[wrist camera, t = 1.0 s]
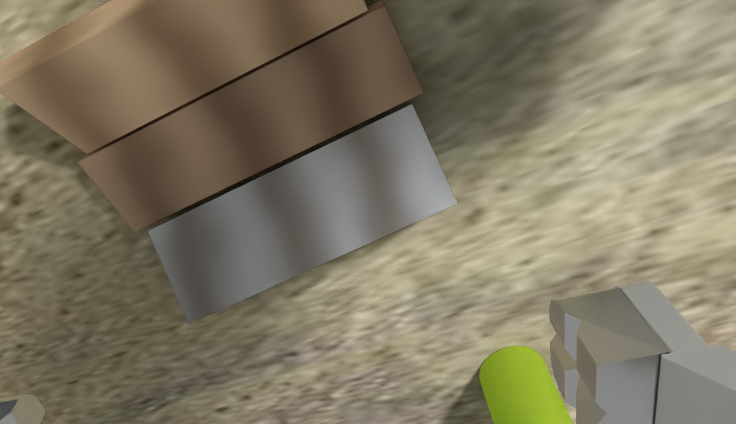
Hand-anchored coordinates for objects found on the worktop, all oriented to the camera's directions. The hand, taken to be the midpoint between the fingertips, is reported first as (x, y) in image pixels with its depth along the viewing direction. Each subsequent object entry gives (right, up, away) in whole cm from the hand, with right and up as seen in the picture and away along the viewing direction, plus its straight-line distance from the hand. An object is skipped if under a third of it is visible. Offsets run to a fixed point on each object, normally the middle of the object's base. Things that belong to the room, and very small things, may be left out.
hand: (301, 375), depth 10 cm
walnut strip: (-7, +9, +32) cm, 34 cm away
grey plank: (-3, +2, +33) cm, 34 cm away
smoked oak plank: (-10, +14, +26) cm, 31 cm away
